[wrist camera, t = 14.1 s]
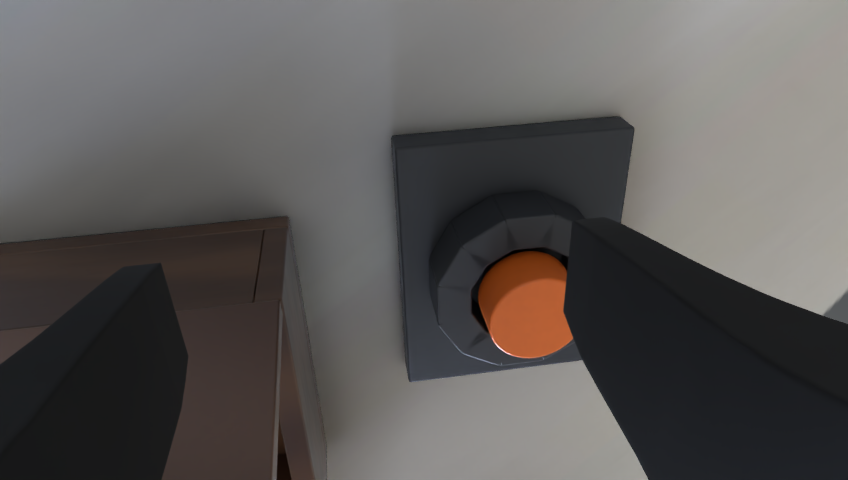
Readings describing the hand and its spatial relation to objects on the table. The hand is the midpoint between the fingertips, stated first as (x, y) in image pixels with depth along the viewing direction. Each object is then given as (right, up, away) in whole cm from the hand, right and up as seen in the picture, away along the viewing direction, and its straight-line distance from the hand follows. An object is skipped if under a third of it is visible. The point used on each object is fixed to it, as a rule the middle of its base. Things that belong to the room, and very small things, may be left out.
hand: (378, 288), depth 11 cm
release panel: (+4, 0, +13) cm, 13 cm away
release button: (+4, -1, +10) cm, 11 cm away
